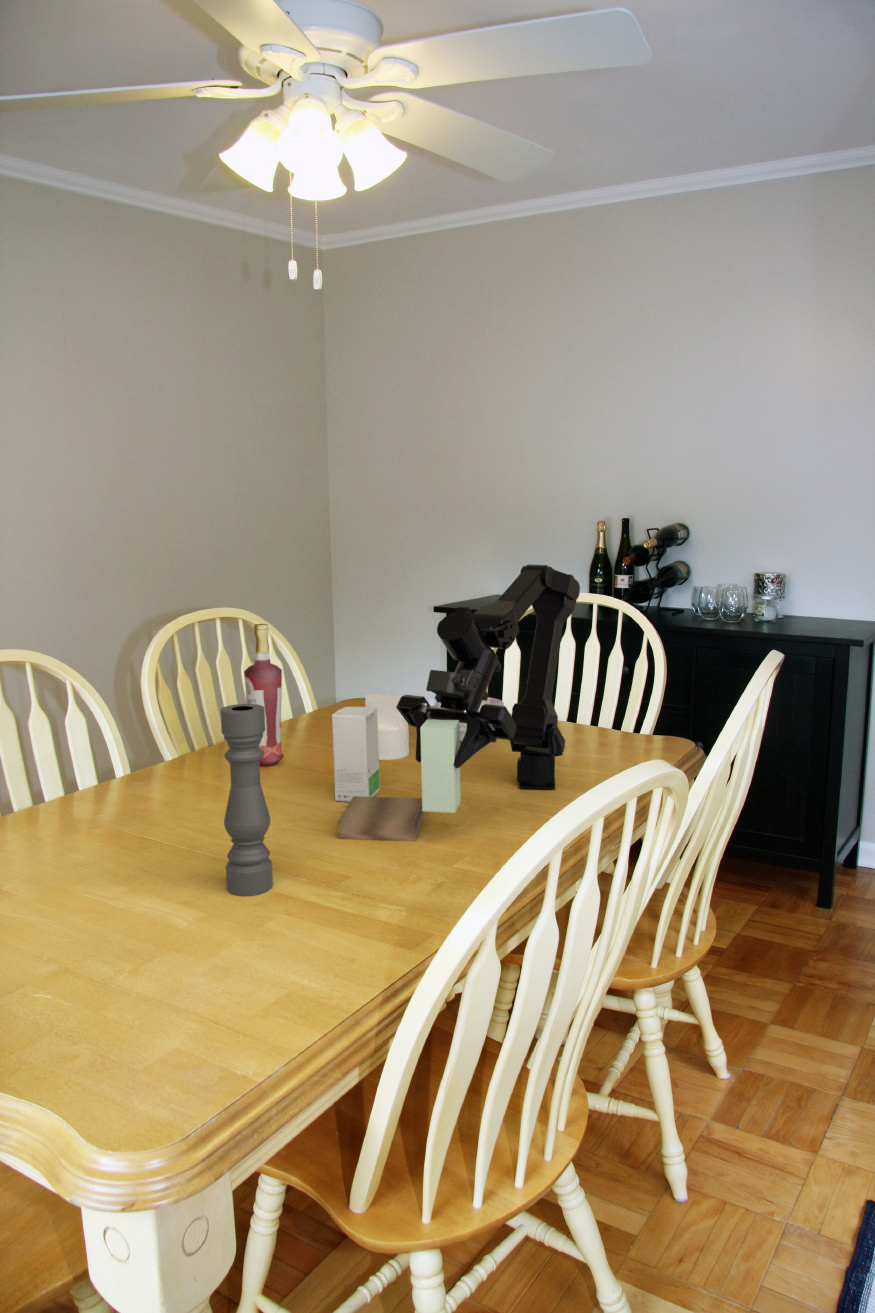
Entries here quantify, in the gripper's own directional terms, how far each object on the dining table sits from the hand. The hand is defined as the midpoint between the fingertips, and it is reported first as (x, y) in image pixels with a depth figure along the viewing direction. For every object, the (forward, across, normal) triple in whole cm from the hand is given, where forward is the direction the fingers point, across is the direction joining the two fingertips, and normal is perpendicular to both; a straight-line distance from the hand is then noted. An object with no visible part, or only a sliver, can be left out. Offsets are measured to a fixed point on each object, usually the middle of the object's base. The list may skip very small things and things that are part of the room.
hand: (436, 764), depth 143 cm
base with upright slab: (-18, -36, +38) cm, 55 cm away
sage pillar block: (+4, 0, +6) cm, 7 cm away
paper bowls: (-33, -28, +52) cm, 68 cm away
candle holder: (+28, -14, -10) cm, 32 cm away
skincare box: (0, -25, +19) cm, 32 cm away
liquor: (-6, -53, +25) cm, 59 cm away
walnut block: (+7, -12, +11) cm, 18 cm away
